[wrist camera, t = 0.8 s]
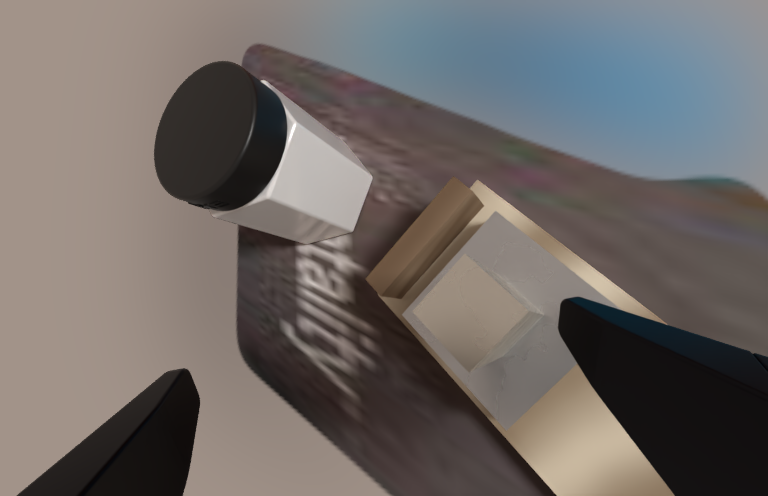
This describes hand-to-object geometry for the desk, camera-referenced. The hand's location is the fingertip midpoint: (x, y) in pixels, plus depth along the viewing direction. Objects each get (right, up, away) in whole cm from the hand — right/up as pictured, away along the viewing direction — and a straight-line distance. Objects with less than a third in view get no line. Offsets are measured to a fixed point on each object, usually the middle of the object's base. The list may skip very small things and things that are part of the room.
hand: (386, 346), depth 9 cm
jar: (-5, +7, +22) cm, 24 cm away
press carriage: (+7, -1, +13) cm, 14 cm away
